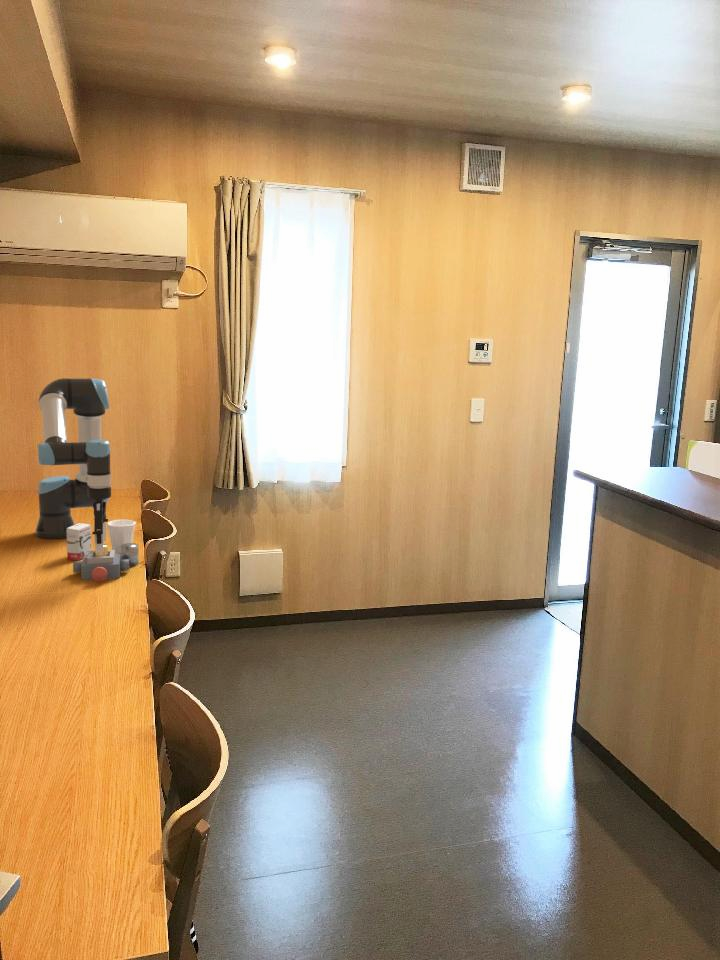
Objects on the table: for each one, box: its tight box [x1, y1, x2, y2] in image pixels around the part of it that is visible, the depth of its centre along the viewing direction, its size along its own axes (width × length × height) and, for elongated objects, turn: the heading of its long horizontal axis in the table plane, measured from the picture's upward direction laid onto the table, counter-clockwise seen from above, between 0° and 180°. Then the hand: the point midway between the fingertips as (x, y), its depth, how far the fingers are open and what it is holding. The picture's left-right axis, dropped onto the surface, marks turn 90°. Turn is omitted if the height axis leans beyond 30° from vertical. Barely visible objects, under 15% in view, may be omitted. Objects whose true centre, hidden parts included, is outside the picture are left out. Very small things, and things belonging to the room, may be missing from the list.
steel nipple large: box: [121, 542, 140, 568], centre depth 255 cm, size 6×6×7 cm
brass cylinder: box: [96, 543, 109, 557], centre depth 244 cm, size 4×4×9 cm
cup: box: [106, 519, 136, 554], centre depth 262 cm, size 10×10×13 cm
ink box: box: [66, 522, 93, 561], centre depth 260 cm, size 9×5×12 cm, turn 168°
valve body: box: [72, 549, 130, 582], centre depth 242 cm, size 16×18×7 cm
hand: (101, 546), depth 243 cm, fingers open, 13 cm apart
